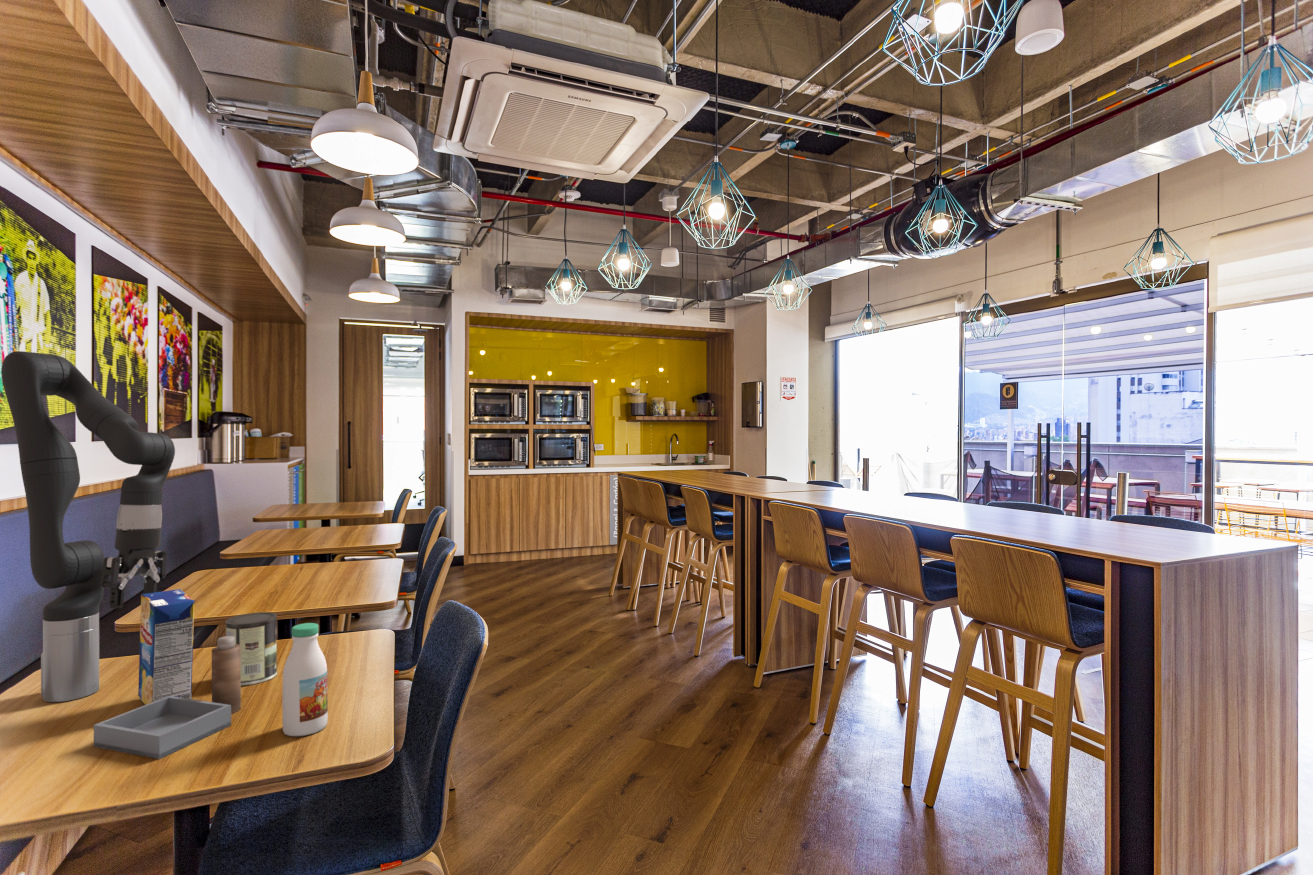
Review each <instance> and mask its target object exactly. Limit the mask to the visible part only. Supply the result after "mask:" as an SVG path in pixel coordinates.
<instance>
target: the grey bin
mask: <svg viewBox="0 0 1313 875" xmlns="http://www.w3.org/2000/svg"><path fill="white" fill-rule="evenodd" d="M230 726H232V714H231V705H228V704H221V703H214V702H212V701H208V700H207V701H206V700H201V699H193V698H191V699H188V698H181V697H174V696H168V697H165V698H162V699H160V700H157V701H155V702H152V703H149V704H147V705H145V704H144V705H142V706H139V707H136V708H134V709H132V710H129V711H125V712H124V713H121V714H118V715H116V716H113V717H111V718H108V719H106V720H103V721H100V722H98V723H96V724H93V748H97V749H98V748H99V749H102V748H103V750H110V751H113V750H114V751H115V752H120V753H125V754H131V755H136V756H141V757H145V756H146V757H147V758H152V759H156V760H160V759H163V758H165V757H167V756H169V755H172V754H173V753H176V752H178V751H180V750H182V749H184V748H186V747H188V746H190V745H192V744H194V743H197V742H199V741H201V740H203V739H205V738H207V737H209V736H212V735H214V734H216V733H219V732H220V731H222V730H224V729H227V728H229V727H230Z"/></svg>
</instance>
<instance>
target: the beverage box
mask: <svg viewBox="0 0 1313 875" xmlns="http://www.w3.org/2000/svg"><path fill="white" fill-rule="evenodd" d="M139 622H140V625H139V626H140V627H139V628H140V629H139V656H138V658H139V661H138V662H139V663H138V687H137V688H138V690H137V691H138V692H137V695H138V697H139V698H140V700H141V701H142V702H143V704H144V705H147V704H149V703H152V702H155V701H157V700H160V699H162V698H165V697H168V696H174V697H181V698H188V699H192V688H193V687H192V686H193V684H192V683H193V659H194V658H193V656H194V655H193V653H194V652H193V650H194V629H195V628H194V623H195V600H194V599H193V598H191V597H190V596H189V595H188V594H187V593H186V592H184V590H182V589H181V588H177V589H171V590H165V591H164V590H163V591H157V592H155V593H148V594H143V593H141V594H140V621H139Z"/></svg>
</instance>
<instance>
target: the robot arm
mask: <svg viewBox="0 0 1313 875" xmlns="http://www.w3.org/2000/svg"><path fill="white" fill-rule="evenodd" d="M0 370H1V371H0V373H1V374H0V376H1V382H2V387H3V390H4V393H5V397H6V401H7V404H8V406H9V411H10V413H11V416H12V417H11V418H12V421H13V426H14V431H15V434H16V435H15V436H16V441H17V448H18V455H19V465H20V472H21V478H22V482H23V487H24V493H25V499H26V505H27V506H26V507H27V513H28V522H29V523H28V526H29V556H30V558H29V561H30V568H31V573H32V576H33V579H34V581H35V582H36V583H37V585H39V586H40V587H41V588H43V589H46V590H51V589H59V588H63V587H65V589H64V591H63V592H62V593H60V595H58V596H57V597H56V598H54V600H52V601H50V602H48V603H46V604H45V605H44V606H43V609H42V652H41V654H40V697H41V698H42V700H43V701H44V702H47V703H60V702H68V701H73V700H77V699H82V698H84V697H88V696H91V695H93V694H95V693H96V692H98V691H99V690H100V605H101V602H102V599H103V596H104V588H106V589H108V590H109V599H108V600H109V601H108V605H109V608H110V609H121V608H123V607H124V600H125V589H124V588H125V587H126V586H127V584H128V582H129V581H131V580H132V579H133V577H135V576H141V577H142V579H143V580H144V583H143V591H142V592H143V593H142V594H148V593H155V592H158V583H159V582H160V581H161V579H165V578H166V577H167V564H168V563H167V561H168V552H167V551H166V550H156V549H159V548H160V547H161V538H162V536H161V535H162V522H163V510H162V503H163V493H164V492H163V491H164V484H165V482H166V480H167V477H168V474H169V472H170V470H171V468H172V465H173V462H174V459H175V455H176V449H175V444H174V441H173V440H172V439H171V437H170V436H168V435H166V434H164V433H159V432H150V431H147V432H146V431H139V424H138V422H137V421H136V419H135V418H134V417H132V416H131V415H130V414H128V413H127V412H125V410H123V409H121V408H120V407H119V406H117V405H116V404H114V403H113V402H112V401H110V400H109V399H108V398H106V397H105V396H104V395H103V394H102V393H101V392H100V391H99V390H98V389H97V388H96V387H95V386H94V384H92V383H91V381H89V380H88V378H86V376H85V375H84V374H83V373H82V372H81V371H80V370H79V369H78V368H77V367H76V366H75V365H74V364H73V362H71V361H70V360H69V359H67V358H65V357H64V356H60V355H56V354H50V353H41V352H35V351H33V352H31V351H20V350H18V351H12V352H10V353H8V354H7V355H6V356H5V357H4V359H3V360H2V363H1V369H0ZM42 396H48V397H50V396H51V397H52V396H56V397H60V398H61V399H64V400H65V401H67V402H69V403H71V404H72V405H73V406H74V407H75V408H74V409H75V414H76V417H77V420H78V422H80V424H81V425H82V426H83V427H84V428H86V430H88V431H89V432H90V433H91V434H94V435H95V436H97V437H98V438H99V439H100V440H102V441H103V442H104V444H105V446H106V448H108V450H109V451H110V453H111V454H112V455H113V456H114V457H115V458H116V459H117V460H118V461H120V462H122V463H125V464H127V465H131V466H132V465H133V466H135V465H137V466H141V467H140V468H139V472H138V473H137V474H135V475H132V476H129V477H126V478H124V480H122V482H121V488H120V498H119V499H120V500H119V502H120V503H119V508H118V512H117V516H116V526H115V527H116V529H115V540H114V548H115V549H116V550H118V555H117V557H115V556H105V554H104V551H103V550H102V548H101V546H100V545H99V544H98V543H97V542H96V541H93V540H89V539H88V540H86V539H85V540H83V539H82V540H76V541H69V542H65V540H64V528H63V524H64V518H65V515H66V513H67V510H68V509H69V506H70V505H71V502H72V501H73V498H74V497H75V495H76V493H77V491H78V489H79V485H80V483H81V482H80V481H81V473H80V469H79V461H78V456H77V453H76V450H75V448H74V446H73V444H72V443H71V442H70V441H69V440H68V439H67V437H66V436H65V435H64V434H63V432H61V431H60V430H59V429H58V427H57V426H56V425H55V424H54V423H53V422H52V420H51V418H50V417H49V416H48V413H47V411H46V409H45V406H44V402H43V398H42ZM159 569H160V570H159ZM159 571H160V572H159ZM109 578H110V581H109Z"/></svg>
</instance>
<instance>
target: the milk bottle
mask: <svg viewBox="0 0 1313 875" xmlns="http://www.w3.org/2000/svg"><path fill="white" fill-rule="evenodd" d="M318 637H319V624H318V623H314V622H305V623H299V624H296V625H294V626H292V628H291V640H292V646H291V649H290V651H289V653H288V656H287V658H286V660H285V662H284V666H283V671H282V692H281V693H282V696H281V697H282V700H281V701H282V705H281V706H282V709H281V710H282V717H281V718H282V719H281V720H282V732H283V734H284V735H286V736H288V737H305V736H309V735H312V734H316V733H318V732H320V731H322V730H323V729H324V728H326V726H327V724H328V720H329V718H328V716H329V713H328V708H329V707H328V704H329V703H328V701H329V700H328V694H329V692H328V691H329V690H328V689H329V688H328V667H327V666H328V665H327V661H326V657H325V655H324V653H323V651H322V649H321V648H320V645H319V642H318Z"/></svg>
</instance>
